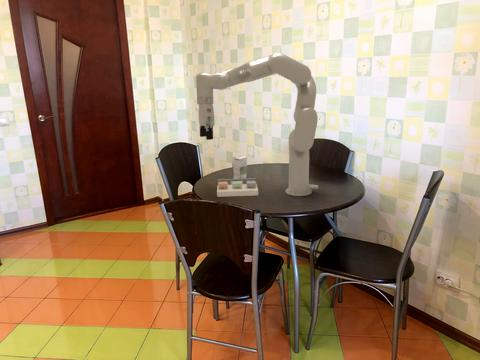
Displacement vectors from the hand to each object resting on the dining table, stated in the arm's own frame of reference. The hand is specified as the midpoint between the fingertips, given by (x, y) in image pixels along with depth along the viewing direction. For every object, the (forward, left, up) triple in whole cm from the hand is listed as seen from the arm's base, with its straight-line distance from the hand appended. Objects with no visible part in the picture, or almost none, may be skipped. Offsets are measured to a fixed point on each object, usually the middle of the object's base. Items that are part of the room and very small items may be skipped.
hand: (206, 138), depth 178 cm
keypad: (-14, -3, -28) cm, 32 cm away
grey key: (-21, -3, -25) cm, 32 cm away
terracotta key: (-7, -3, -25) cm, 26 cm away
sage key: (-14, -3, -25) cm, 29 cm away
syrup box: (-16, -21, -29) cm, 39 cm away
